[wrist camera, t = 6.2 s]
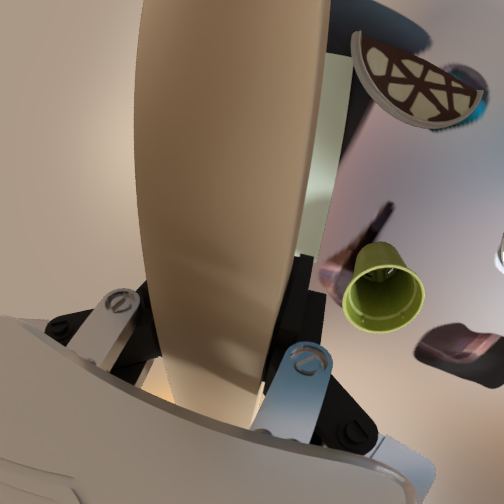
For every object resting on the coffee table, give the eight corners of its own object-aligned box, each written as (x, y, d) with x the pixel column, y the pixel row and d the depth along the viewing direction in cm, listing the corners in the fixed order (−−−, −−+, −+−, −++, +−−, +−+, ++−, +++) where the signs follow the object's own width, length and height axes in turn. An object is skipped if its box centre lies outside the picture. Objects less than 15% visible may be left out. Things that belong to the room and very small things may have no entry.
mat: (353, 58, 23) (354, 57, 23) (316, 260, 37) (316, 262, 36) (290, 48, 24) (289, 47, 24) (266, 249, 38) (265, 251, 38)
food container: (335, 99, 26) (335, 95, 18) (347, 51, 23) (353, 27, 15) (433, 140, 25) (470, 156, 16) (447, 94, 21) (488, 94, 13)
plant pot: (330, 271, 37) (326, 314, 30) (366, 215, 32) (374, 250, 25) (384, 299, 37) (389, 343, 30) (423, 249, 32) (440, 289, 24)
